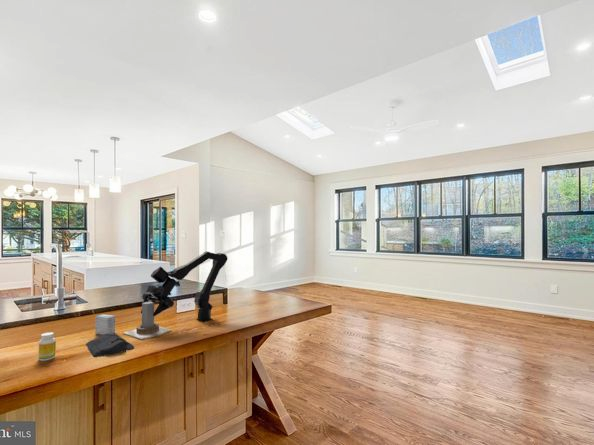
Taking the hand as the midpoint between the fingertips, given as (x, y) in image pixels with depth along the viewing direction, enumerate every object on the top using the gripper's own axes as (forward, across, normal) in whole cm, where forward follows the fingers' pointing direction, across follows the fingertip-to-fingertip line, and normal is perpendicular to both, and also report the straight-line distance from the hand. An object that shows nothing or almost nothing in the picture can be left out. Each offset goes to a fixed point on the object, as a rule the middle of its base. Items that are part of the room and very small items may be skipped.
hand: (147, 314), depth 161 cm
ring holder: (+6, 0, +7) cm, 9 cm away
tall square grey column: (+6, 0, +6) cm, 8 cm away
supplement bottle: (+35, -6, -22) cm, 42 cm away
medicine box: (+14, -16, -2) cm, 22 cm away
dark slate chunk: (+21, +3, -8) cm, 23 cm away
